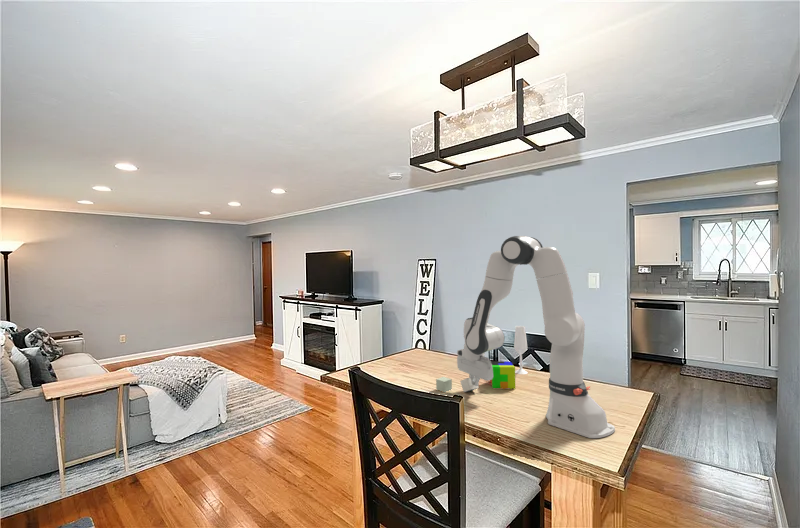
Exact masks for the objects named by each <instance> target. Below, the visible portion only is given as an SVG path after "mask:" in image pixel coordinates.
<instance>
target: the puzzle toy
mask: <svg viewBox="0 0 800 528" xmlns="http://www.w3.org/2000/svg"><path fill="white" fill-rule="evenodd" d="M490 361H491V360H490ZM491 364H492V368H493V379H492V380H489V382H490V385H491V388H492V389H493V388H503V389H502V390H506V389H505V388H510V389H509V390H515V389H516V373H515V371H516V367H515V366H514V364H513V362H512V361H508V360H507V361H503V360H501V361H500V360H499V361H498V360H497V361H496V360H495V361H491ZM512 388H513V389H512ZM514 388H515V389H514Z"/></svg>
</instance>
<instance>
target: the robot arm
mask: <svg viewBox="0 0 800 528" xmlns="http://www.w3.org/2000/svg"><path fill="white" fill-rule="evenodd" d="M519 265H520V266H521V265H524V266H525V265H529V266H531V268H532V270H533V272H534V276H535V279H536V284H537V287H538V292H539V295H540V300H541V306H542V308H541V309H542V317H543V323H544V325H543V326H544V335H545V337H546V339H547V341H549V342H550V343H551V349H550V355H549V377H548V378H549V379H548V389H549V397H548V399H549V400H548V406H547V411H546V414H545V418H546V419H547V424H548V425H550V426H553V427H557V428H559V429H562V430H565V431H568V432H571V433H573V434H577V435H580V436H582V437H586V438H588V439H599V438H600V439H601V438H604V437H608V436H611V435H612V434H614V432H615V431H616V427H615V425H613V424H611V423H609V422H608V419H607V414H606V411H605V410H604V409H603V407H602V406H600V405H599V404H598V402H596V400H595V399H594V398H592V396H590V394H589V392H588V391H589V390H591V386H586V383H585V381H584V366H583V365H584V362H583V361H584V348H585V347H584V346H585V330H586V329H585V328H586V327H585V326H586V325H585V321H584V318H583V317H582V316H581V315H580V314H579V313H577V312H576V309H575V304H574V303H575V302H574V292H573V289H572V285H571V282H570V278H569V274H568V270H567V267H566V265H565V262H564V260H563V258H562V255H561V254H560V251H559V250H558V248H556V247H553V246H543V244H542V243H541V241H540V240H539V239H537V238H535V237H530V236H526V235H514V236H510V237H508V238H506V239H505V240H504V241H503V243H502V244H501V246H500V250H496V251H494V252H492V253H491V254H490V256H489V259H488V262H487V266H486V272H485V276H484V281H483V282H484V283H483V286H482V288H481V291H480V292H479V294H478V296H477V300H476V303H475V307H474V311H473V313H472V314H473V315H472V317H468V318H466V319H465V320H464V324H463V339H464V345H463V348H462V349H457V350H456V355H457V357H456V359H457V360H456V361H457V362H456V365H457V369H458V370H459V371H461V372H463V373H466V374H468V376H469V377H468V378H470V379H471V384H472V385H474V386H478V387H479V382H480V380H484V381H488V382H489V381H490V380H492V379H493V368H492V364H491V360H490V358H489V357H487V356H486V357H485V355H486V354H485V353H487V352H489V351H493V350H497V349H499V348H500V347H502V346H503V345H504V343H505V334H504V331H503V330H502V329H501V328H500V327H498V326H495V325H493V324H490V323H488V322H489V318H490V314H491V312H492V309H493V308H494V307H495V306H496V305H497V304H498V303H499V302H501V301H502V300H504V299H506V298H507V297H508V296H509V295H510V293H511V290H512V287H513V280H514V276H515V275H514V273H515V270H516V268H517V267H518V266H519ZM475 378H476V379H475Z"/></svg>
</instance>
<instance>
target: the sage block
mask: <svg viewBox="0 0 800 528" xmlns="http://www.w3.org/2000/svg"><path fill="white" fill-rule="evenodd" d="M435 381H436V382H435V383H436V384H435V385H436V387H435V388H436V389H437V390H436V389H435V390H436V391H438V390H440V391H439V392H441V391H443V392H442V393H444V392H445V393H447V392H446V391H448V392H450V391H452V390H453V387H452V386H453V382H452V381H453V379H452V378H449V377H445V376H442V377H438V378H436V379H435ZM451 389H452V390H451ZM449 390H450V391H449Z"/></svg>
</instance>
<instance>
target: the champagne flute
mask: <svg viewBox="0 0 800 528" xmlns="http://www.w3.org/2000/svg"><path fill="white" fill-rule="evenodd" d="M514 329H515V331H514V344H513V345H514V346H513V349H514V350H515V351H516V353H518V354H519V368H518V369H515V374H518V375H527V374H528V371H527V370H525V369H523V354H525V352H526V351H527V350H528V342H527V334H526V327H525V326H524V325H515V328H514Z"/></svg>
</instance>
